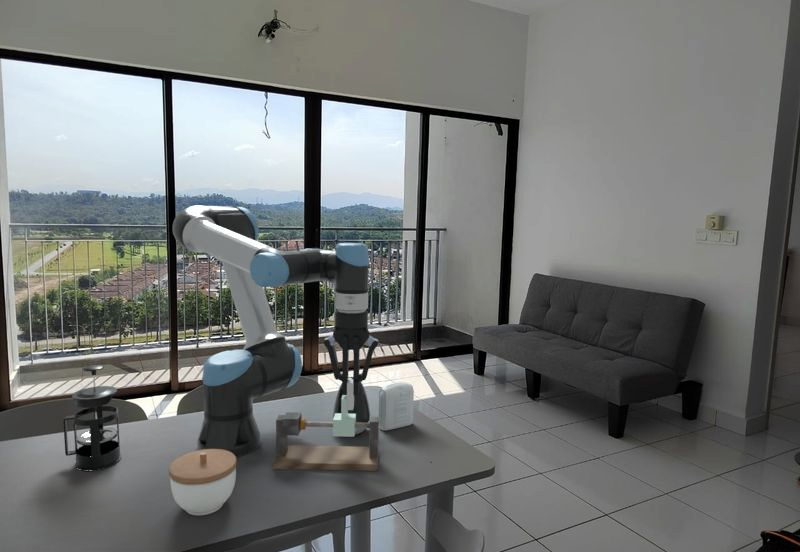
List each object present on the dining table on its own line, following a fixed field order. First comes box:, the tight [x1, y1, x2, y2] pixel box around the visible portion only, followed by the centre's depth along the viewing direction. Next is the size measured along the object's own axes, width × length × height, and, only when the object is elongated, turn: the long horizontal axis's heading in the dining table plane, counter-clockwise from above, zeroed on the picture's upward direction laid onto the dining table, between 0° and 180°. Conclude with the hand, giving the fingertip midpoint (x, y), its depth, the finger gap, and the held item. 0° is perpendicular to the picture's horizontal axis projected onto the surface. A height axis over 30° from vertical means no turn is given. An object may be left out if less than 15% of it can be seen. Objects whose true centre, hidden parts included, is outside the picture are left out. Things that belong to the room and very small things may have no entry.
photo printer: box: [378, 381, 415, 432], centre depth 144 cm, size 10×4×12 cm, turn 123°
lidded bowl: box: [168, 449, 237, 517], centre depth 104 cm, size 13×13×11 cm
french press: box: [62, 364, 122, 472], centre depth 120 cm, size 12×9×23 cm
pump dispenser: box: [332, 376, 371, 436], centre depth 140 cm, size 10×10×15 cm
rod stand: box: [272, 411, 380, 472], centre depth 124 cm, size 24×9×11 cm, turn 90°
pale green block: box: [332, 395, 356, 438], centre depth 123 cm, size 5×4×9 cm
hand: (350, 407), depth 123 cm, fingers closed
